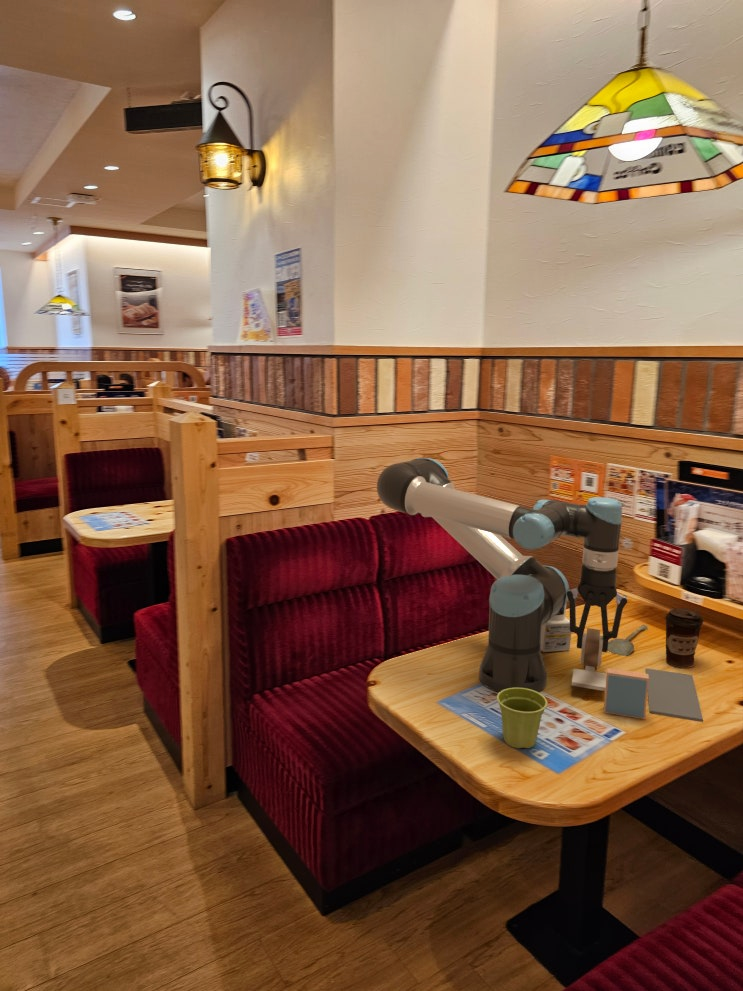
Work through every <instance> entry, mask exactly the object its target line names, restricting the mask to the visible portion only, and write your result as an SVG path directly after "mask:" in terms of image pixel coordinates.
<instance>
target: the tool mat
mask: <svg viewBox="0 0 743 991" xmlns="http://www.w3.org/2000/svg"><path fill="white" fill-rule="evenodd" d="M645 674H648V675H649V682H648V693H647V700H648V708H649V713H650V714H655V715H662V716H665V717H667V716H668V717H673V718H680V719H685V720H691V721H698V722H703V721H704V718H703V714H702V710H701V707H700V702H699V698H698V693H697V689H696V685H695V684H696V683H695V681H694V677H693V674H687V673H681V672H675V671H668V670H660V669H656V668H655V669H654V668H647V667H646V668H645Z"/></svg>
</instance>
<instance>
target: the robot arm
mask: <svg viewBox="0 0 743 991" xmlns="http://www.w3.org/2000/svg"><path fill="white" fill-rule="evenodd" d="M454 484H455V483H453V482H452V481H451V480H450V477H449V473H448V470H447V469H446V467H445V466H444V465H443V464H442V463H441V462H440V461H438V460H436V459H434V458H429V457H418V458H414V459H411V460H408V461H403V462H402V461H401V462H396V463H392V464H390V465H388V466H387V467H385V468H384V469H383V470H382V471H381V473H380V474H379V475H378V479H377V481H376V492H377V495H378V498H379V499H380V501H381V502H382V503H383V504H384V505H385V506H386V507H387V508H390V509H391V510H394V511H396V512H401V513H404V514H408V515H410V516H414V515H416V514H420V515H421V516H422V517H424V518H432V519H433V520H434V521H435V522H437V524H438V525H440V526H441V527H442V528H443V529H444V530H445V531H446V532H447V533H448V534H449V535H450V536H451V537H452V538H453V539H454V540H455V541H457V543H459V545H461V546H462V548H464V550H466V551H467V552H468V553H469V554H470V555H471V556H472V557H473V558H474V559H475V560H477V561H478V562H479V564H481V565H482V566H483V568H485V569H486V570H487V571H488V572H489V573H490V574H491V575H492V576H493V577H494V578H495V579H496V580H495V581H494V582H493V583H492V585H491V587H490V594H489V598H488V602H489V614H488V616H489V617H488V619H489V620H488V638H487V639H488V642H487V644H488V645H487V647H486V650H485V652H484V655H483V657H482V660H481V663H480V664H479V674H478V677H479V678H478V679H479V680H480V683H481V684H483V685H484V686H485V687H486V688H488V689H490V690H493V691H495V692H497V693H499V692H501V691H502V690H504V689H508V688H526V689H531V690H534V691H536V692H538V693H540V692H541V691H543V690H544V689H545V688H546V686H547V679H548V678H547V677H548V673H547V669H546V666H545V662H544V659H543V656H542V651H541V650H540V646H541V630H542V625H543V624H544V623H546V622H547V621H548V620H549V619H551V618H552V617H553V616H555V615H557V614H558V613H559V612H560V611H561V610H562V609H563V607H564V606H565V605H566V606H567V604H568V602H569V605H568V606H569V620H570V631H571V633H574V634H576V636H577V638H576V648H577V649H581V650H580V651H581V653H580V662H579V663H580V664H582V665H583V664H584V653H585V643H586V634H587V632H585V630H586V626H587V622H588V618H589V614H590V610H591V607H595V606H597V607H599V608H600V612H601V613H600V614H601V615H600V616H601V628H602V635H601V634H600V639H599V654H598V664H597V667H601V666H602V665H601V664H602V655H603V653H608V651H607V650H608V642H609V641H610V640H612V639H618V635H619V631H620V624H621V621H622V620H621V619H622V614H623V610H624V608H625V606H626V605H627V603H628V597H627V595H622V594H620V593H618V590H617V587H616V581H617V571H618V570H617V567H618V563H619V562H618V560H619V552H620V551H619V550H620V548H619V547H620V539H621V538H620V537H621V530H622V524H623V519H622V518H623V514H622V513H623V504H622V502H621V501H620V500H618V499H616V498H612V497H601V496H594V497H589V499H587V503H586V504H578V503H573V502H566V501H565V502H564V501H558V500H555V499H540V500H537V501H536V503H535V504H534V505H533V507H532V508H529V507H526V506H521V505H518V504H514V503H510V502H507V501H506V502H505V501H501V500H498V499H495V498H490V497H486V496H482V495H479V494H475V493H471V492H466V491H463V490H460V489H455V485H454ZM561 536H566V537H567V536H568V537H574V538H579V539H580V538H582V539H583V546H582V547H583V550H582V560H581V561H582V563H583V565H581V570H580V571H581V572H580V583H579V584H578V586H577V587H576V588H570V586H569V582H568V579H567V578H566V577H565V575H564V574H563V573H562V571H561V570H559V569H558V568H556V567H554V566H549V565H545V564H542V563H540V561H538V560H537V559H536V558H535V557H534V556H532V555H523V554H522V553H521V552H520V551H518V550H517V549H516V548H515V546H513V545H512V544H511V543H509V541H507V540H506V539H505V538H507V539H512V540H514V541H515V542H516V543H517V544H518V545H519V546H521V548H523V549H527V550H536V549H540V548H543V547H545V546H547V545H549V543H551V542H553V541H554V540H556V539H559V537H561ZM578 594H579V595H580V597H581V598H582V600H583V602H584V607H583V610H582V614H581V618H580V622H579V624H578V626H577V622H576V620H577V617H576V616H577V615H576V614H577V612H576V611H577V610H576V609H577V607H576V606H577V605H576V603H577V602H576V600H577V598H578ZM614 599H615V604H616V607H615V614H614V620H613V624H612V629H611V630H610V629H609V620H608V617H609V616H608V607H607V606H608V605H609V604H610V603H611V601H613V600H614ZM566 603H567V604H566Z"/></svg>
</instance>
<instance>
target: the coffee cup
mask: <svg viewBox="0 0 743 991" xmlns="http://www.w3.org/2000/svg"><path fill="white" fill-rule="evenodd" d="M664 618H665V624H666V625H665V662H666V663H667V664H669V665H670V666H674V667H676V668H677V667H678V668H693V667H694V666H695V655H696V649H697V646H698V645H699V638H700V631H701V628H702V626H703V624H704V619H703V618H702V616H701V613H700V612H699V611H697V610H693V609H689V608H682V607H681V608H673V609H671V610H669V612H668V613H667V614H666V615H665V617H664Z"/></svg>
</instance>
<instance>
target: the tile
mask: <svg viewBox="0 0 743 991" xmlns="http://www.w3.org/2000/svg"><path fill="white" fill-rule="evenodd" d="M648 682H649V675H648V674H646V672H637V671H631V670H626V669H625V670H623V669H617V668H610V667H606V688H605V691H604V700H603V701H604V702H603V713H605V714H611V715H612V714H613V715H617V716H622V717H629V718H635V719H640V718H641V719H640V720H646V714H647V703H648V702H647V700H648Z"/></svg>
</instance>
